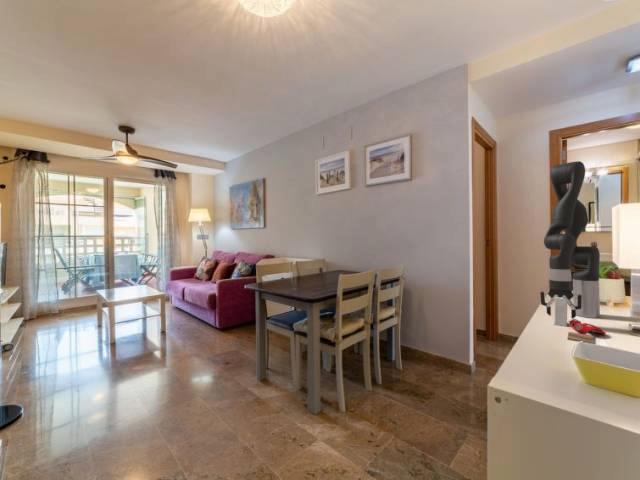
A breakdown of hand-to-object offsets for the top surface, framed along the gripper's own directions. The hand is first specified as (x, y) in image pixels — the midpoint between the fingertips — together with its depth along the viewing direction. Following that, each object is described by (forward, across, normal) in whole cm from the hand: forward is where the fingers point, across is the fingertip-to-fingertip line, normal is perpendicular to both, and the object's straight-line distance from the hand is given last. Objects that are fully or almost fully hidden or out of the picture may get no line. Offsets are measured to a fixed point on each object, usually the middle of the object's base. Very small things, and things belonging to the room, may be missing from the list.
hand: (560, 316), depth 123 cm
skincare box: (+4, 0, 0) cm, 4 cm away
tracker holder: (+3, -8, +7) cm, 11 cm away
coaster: (+3, -6, +17) cm, 19 cm away
